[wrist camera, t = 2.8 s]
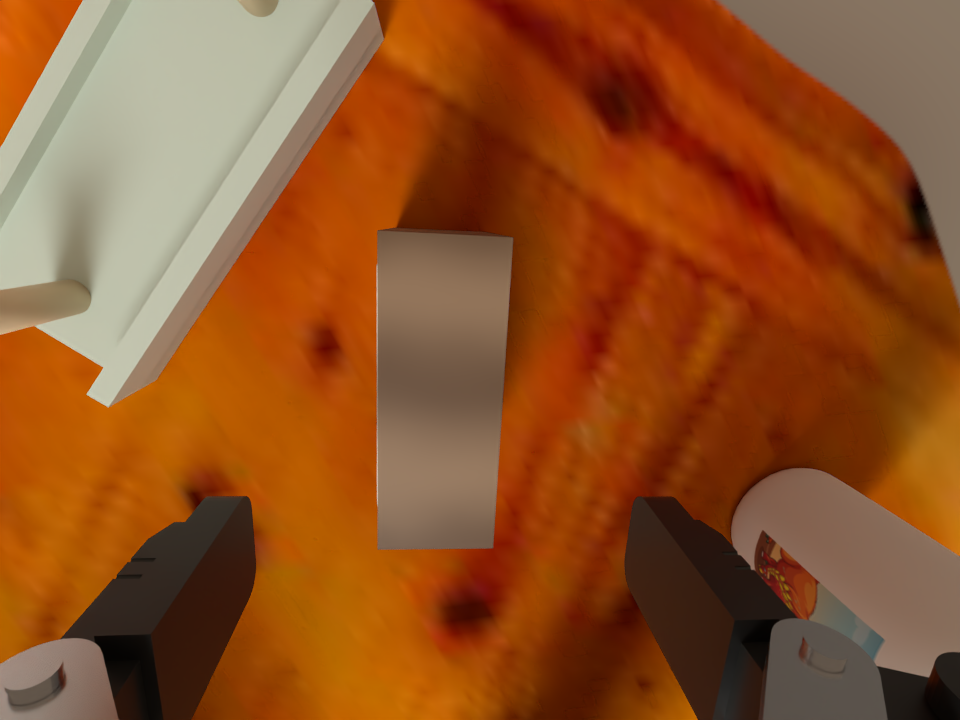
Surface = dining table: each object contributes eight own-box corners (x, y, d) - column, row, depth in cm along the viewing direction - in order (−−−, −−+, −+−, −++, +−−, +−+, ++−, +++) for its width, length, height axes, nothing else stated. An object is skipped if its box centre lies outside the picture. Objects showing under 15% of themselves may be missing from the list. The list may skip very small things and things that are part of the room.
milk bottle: (744, 458, 31) (1275, 861, 11) (860, 468, 31) (1534, 857, 12) (712, 569, 32) (1122, 1076, 13) (823, 575, 33) (1354, 1057, 14)
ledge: (156, 380, 26) (50, 440, 19) (-22, 271, 24) (-216, 293, 17) (383, 39, 23) (361, -44, 16) (202, -118, 21) (82, -295, 14)
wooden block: (474, 450, 29) (492, 548, 20) (390, 449, 28) (372, 549, 20) (486, 232, 26) (513, 237, 17) (392, 227, 25) (370, 230, 17)
